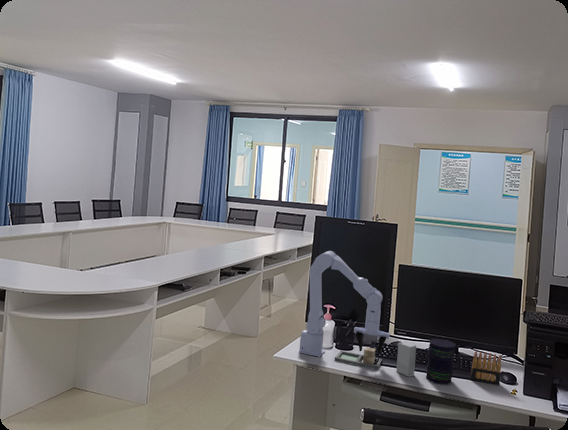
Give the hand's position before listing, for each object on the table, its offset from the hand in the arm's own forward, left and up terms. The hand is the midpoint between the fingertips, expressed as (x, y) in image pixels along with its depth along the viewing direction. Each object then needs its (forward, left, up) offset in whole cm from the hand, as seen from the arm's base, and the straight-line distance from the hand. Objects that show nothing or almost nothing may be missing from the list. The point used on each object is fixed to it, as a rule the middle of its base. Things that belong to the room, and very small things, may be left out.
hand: (369, 352), depth 215 cm
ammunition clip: (+45, +6, -5) cm, 46 cm away
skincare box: (+15, -3, -5) cm, 16 cm away
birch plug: (0, 0, -5) cm, 5 cm away
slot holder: (-4, 0, -5) cm, 6 cm away
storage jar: (+28, -2, -5) cm, 29 cm away
